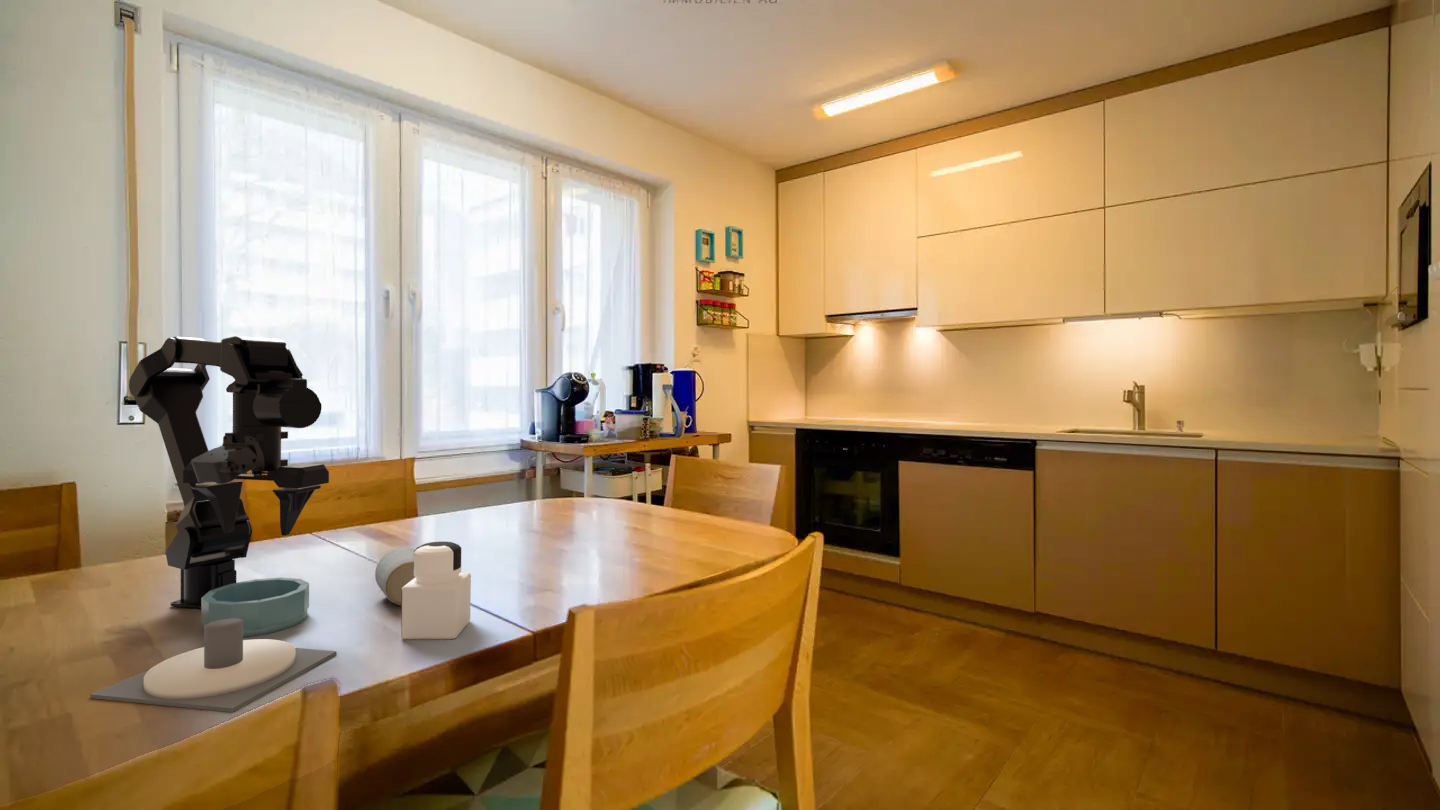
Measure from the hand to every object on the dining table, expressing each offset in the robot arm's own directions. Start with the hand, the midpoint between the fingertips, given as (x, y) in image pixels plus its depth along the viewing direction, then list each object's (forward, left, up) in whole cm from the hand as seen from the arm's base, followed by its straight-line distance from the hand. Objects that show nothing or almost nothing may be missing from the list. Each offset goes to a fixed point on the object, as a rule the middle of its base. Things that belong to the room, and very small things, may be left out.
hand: (256, 533), depth 95 cm
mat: (+12, -17, -12) cm, 24 cm away
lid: (+12, -17, -12) cm, 24 cm away
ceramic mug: (+17, +12, -12) cm, 24 cm away
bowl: (+2, -2, -12) cm, 12 cm away
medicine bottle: (+28, 0, -12) cm, 31 cm away
